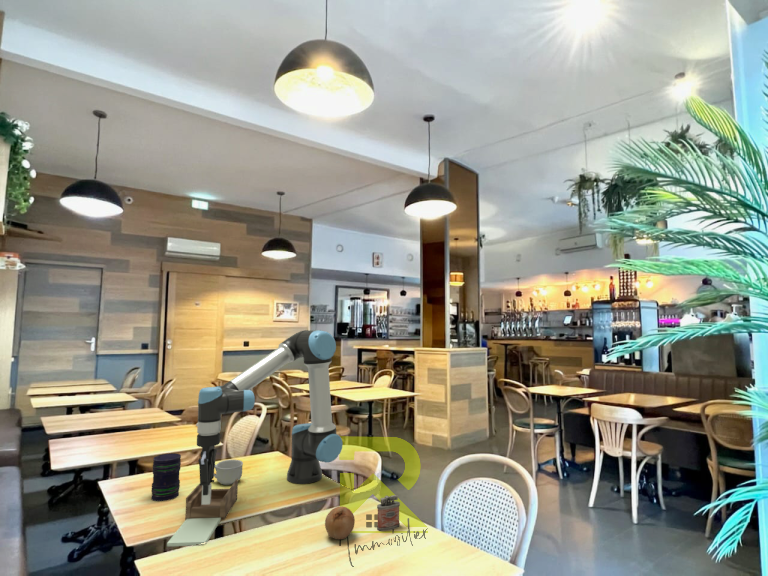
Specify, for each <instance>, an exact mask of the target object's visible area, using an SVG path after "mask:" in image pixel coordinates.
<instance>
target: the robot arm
mask: <svg viewBox="0 0 768 576" xmlns="http://www.w3.org/2000/svg"><path fill="white" fill-rule="evenodd" d="M336 342H337V341H336V340H335V338H334V336H333V335H332V334H331V333H329V332H328V331H325V330H321V329H320V330H318V329H317V330H316V329H313V330H309V329H307V330H306V329H305V330H304V329H303V330H301V331H298V332H296V333H294V334H292V335H291V336H289V337H288V338H286V339H284V340H283V341H282V342H280V343H279V344H278V348H276V349H274V350H273V351H272V352H270V353H268V354H267V355H266V356H264V357H263V358H261V359H260V360H259V361H257V362H255V363H254V364H253V365H251V366H250V367H248V368H247V369H245V370H244V371H242V372H241V373H239V374H238V375H237V376H235V377H233V378H232V379H231V380H230V381H228V382H226V383H224V384H222V385H218V386H211V387H210V386H209V387H202V388H200V390H199V392H198V399H197V404H198V405H197V423H196V424H195V426H196V427H197V431H196V432H197V435H196V446H197V447H199V448H201V451H200V458H198V465H199V483H198V485H202V503H201V505H206V504H210V503H211V489H212V486H213V485H212V483H215V477H214V473H215V465H216V457H217V451H218V450H217V448H215V447H216V446H219V445H220V443H221V433H220V432H221V426H222V424H221V422H222V415H225V414H226V415H227V414H232V413H238V412H240V413H241V412H246V411H251V410H252V409H253V408H254V406H255V403H256V401H255V400H256V398H255V394H254V392H253V390H252V389H253V388H254V387H256V386H257V385H259V384H260V383H261V382H263V381H265V380H266V379H267V378H268V377H270V376H271V375H273V374H274V373H275V372H277V371H278V370H279V369H281V368H283V367H284V366H286V365H287V364H288V363H294V361H296V360H298V359H301V358H303V365H304V366H306V368H307V374H308V375H307V376H308V377H307V378H308V388H309V403H310V404H309V406H310V419H311V420H310V421H311V422H308V423H300V424H295V425H294V426H292V430H291V460H290V463H289V467H288V471H287V473H286V480H287V482H289V483H293V484H299V485H302V484H304V485H305V484H312V483H316V482H319V481H320V480H321V479H322V477H323V471H322V468H321V464H320V462H322V463H332V462H334V461H335V460H336V459H338V457H339V456H340V454H341V453H342V449H343V440H342V437H341V436H340V435H339V434H338V433H337V425H336V424H335V423H333V417H332V415H333V414H332V402H331V401H332V400H331V398H332V397H331V386H330V385H331V384H330V370H329V369H330V368H329V366H330V364H331V363H332V362H333V361H332V357H334V355H335V353H336V349H337V345H336V344H337V343H336Z"/></svg>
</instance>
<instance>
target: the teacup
mask: <svg viewBox="0 0 768 576" xmlns="http://www.w3.org/2000/svg"><path fill="white" fill-rule="evenodd" d="M243 465H244V462H243V461H242V460H240V459H225V460H222V461H219V462H218V463H216V464H215V468H214V470H215V471H216V472H214V479H216V481H217V482H218V483H220V485H223V486H232V485H233V483H234V482H235V480H236V479H238V481H240V479H241V478H242V475H243Z"/></svg>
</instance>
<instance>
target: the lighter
mask: <svg viewBox="0 0 768 576" xmlns="http://www.w3.org/2000/svg"><path fill="white" fill-rule="evenodd" d="M398 497H399V496H398V494H397V495H396V494H394V495H390V496H388V495H385V496H384V497H381V498H380V503H379V504H376V506H377V507H376V509H377V526H376V530H377V531H378V532H386V531H387V532H388V531H391V530H392V531H393V530H395V529H398V528H400V527H401V525H400V524H401V523H400V506H401V502H400V501H398V500H399V499H398Z"/></svg>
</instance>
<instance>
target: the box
mask: <svg viewBox="0 0 768 576" xmlns="http://www.w3.org/2000/svg"><path fill="white" fill-rule="evenodd" d="M238 487H239V480H238V479H236V480H235V482H234V483H233V484H231V485H230V486H229V488H211V503H210V504H206V505H201V503H202V485H199V484H197V486H196V487H195V488H193V490H192V491H191V492H190V493H189V494H188V496H186V497H185V514H184V515H185V518H184V521H185V520H186V519H190V518H221V521H224V520H226V518H227V516H228V515H229V514H230V511H232V508H233V507H234V505H235V504H236V502H237V501H238V493H239V492H238V491H239V490H238Z"/></svg>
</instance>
